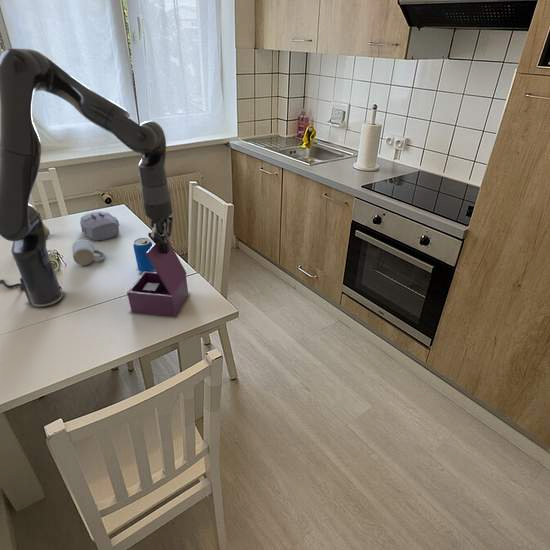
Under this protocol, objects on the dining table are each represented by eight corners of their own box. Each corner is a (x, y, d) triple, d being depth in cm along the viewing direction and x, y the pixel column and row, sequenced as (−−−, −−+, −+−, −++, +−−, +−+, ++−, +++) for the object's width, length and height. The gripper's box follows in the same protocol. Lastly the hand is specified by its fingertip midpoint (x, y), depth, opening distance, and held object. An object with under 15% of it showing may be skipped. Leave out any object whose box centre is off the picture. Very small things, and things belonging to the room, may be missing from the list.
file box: (131, 312, 125) (126, 292, 121) (147, 290, 136) (144, 271, 131) (175, 316, 123) (172, 296, 119) (188, 294, 134) (185, 274, 130)
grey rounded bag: (125, 234, 171) (110, 219, 184) (121, 217, 166) (106, 202, 180) (89, 244, 163) (76, 227, 176) (84, 226, 158) (71, 210, 172)
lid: (145, 253, 112) (147, 252, 112) (162, 233, 122) (164, 233, 122) (170, 295, 119) (173, 295, 119) (184, 274, 130) (186, 273, 129)
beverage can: (151, 275, 144) (146, 246, 137) (135, 273, 145) (129, 244, 138) (159, 266, 149) (154, 238, 142) (143, 264, 150) (138, 236, 144)
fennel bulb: (38, 234, 170) (29, 208, 163) (50, 232, 172) (42, 206, 165) (37, 240, 165) (28, 213, 159) (50, 238, 167) (41, 212, 161)
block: (144, 303, 128) (141, 289, 125) (149, 295, 131) (146, 282, 129) (157, 304, 127) (154, 290, 124) (162, 296, 131) (159, 283, 128)
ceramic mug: (75, 268, 147) (70, 250, 143) (75, 258, 153) (70, 240, 149) (105, 263, 151) (101, 245, 147) (104, 253, 157) (100, 236, 153)
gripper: (153, 189, 115) (161, 241, 124) (133, 206, 104) (144, 262, 113) (177, 191, 114) (184, 243, 124) (160, 208, 103) (168, 264, 112)
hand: (165, 252), depth 118 cm, fingers closed
